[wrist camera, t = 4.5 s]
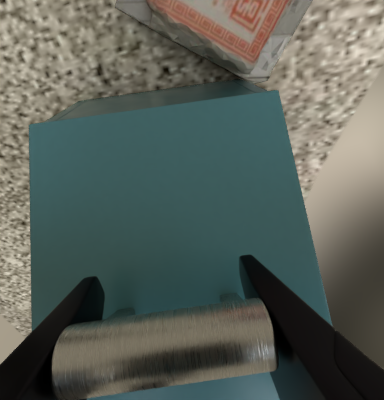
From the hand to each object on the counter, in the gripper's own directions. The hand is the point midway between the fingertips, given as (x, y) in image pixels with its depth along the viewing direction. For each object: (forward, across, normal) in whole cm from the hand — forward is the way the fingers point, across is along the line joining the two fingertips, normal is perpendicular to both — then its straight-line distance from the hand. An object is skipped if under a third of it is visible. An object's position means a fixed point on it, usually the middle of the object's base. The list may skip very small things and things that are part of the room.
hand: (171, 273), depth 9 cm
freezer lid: (+2, 0, +1) cm, 2 cm away
